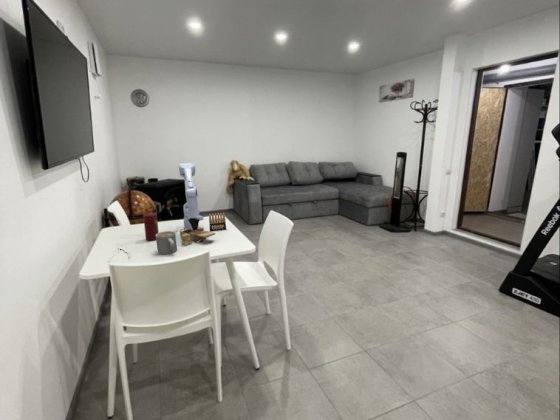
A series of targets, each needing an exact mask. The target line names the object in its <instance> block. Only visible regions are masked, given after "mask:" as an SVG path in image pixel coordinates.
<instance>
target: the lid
mask: <svg viewBox="0 0 560 420" xmlns="http://www.w3.org/2000/svg"><path fill="white" fill-rule="evenodd" d="M189 234H191V235H195V236H199V237H203V238H206V239H207V238H209V237H212V236H215V235H216V232H214V231H212V232H210V230H209V231H208V230H205V229H204V227H200V228H199V229H197V230H194V231H192V232H189Z"/></svg>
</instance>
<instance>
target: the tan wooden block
mask: <svg viewBox="0 0 560 420" xmlns="http://www.w3.org/2000/svg"><path fill="white" fill-rule="evenodd" d="M180 240H181V241H180V242H181V246H184V247H187V246H189V245H191V242H192V241H190V234H186V233H185V234H183V235H181V236H180Z"/></svg>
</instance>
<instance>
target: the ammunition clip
mask: <svg viewBox="0 0 560 420" xmlns="http://www.w3.org/2000/svg"><path fill="white" fill-rule="evenodd" d="M208 218H209V219H208V222H209V225H208V226H209V232H218V231H219V232H220V231H227V223H226V216H225V212H224V211H223V213H222V212H220V213H219V212H217V213H216V212H214V213H209V215H208Z"/></svg>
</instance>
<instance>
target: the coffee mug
mask: <svg viewBox="0 0 560 420" xmlns="http://www.w3.org/2000/svg"><path fill="white" fill-rule="evenodd" d="M155 241H156V249H157V254H158V255H161V256H165V255H166V256H167V255H171V254H174V253H176V252H177V251H178V245H177V237H176V232H175V231H171V230H166V231H160V232H157V233H156V234H155Z"/></svg>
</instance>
